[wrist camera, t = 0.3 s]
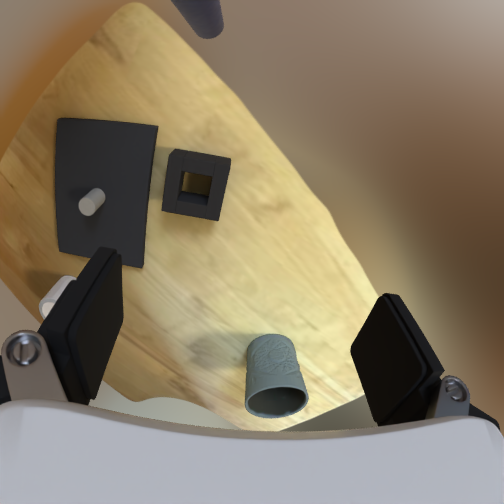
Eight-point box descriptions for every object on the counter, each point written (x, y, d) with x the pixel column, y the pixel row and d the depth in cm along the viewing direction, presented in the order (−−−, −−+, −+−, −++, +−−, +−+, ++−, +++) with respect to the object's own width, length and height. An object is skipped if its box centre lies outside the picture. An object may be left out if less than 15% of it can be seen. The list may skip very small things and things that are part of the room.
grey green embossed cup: (266, 372, 57) (271, 423, 46) (230, 349, 53) (230, 405, 42) (308, 347, 54) (320, 401, 43) (274, 320, 49) (283, 379, 39)
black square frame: (174, 148, 34) (169, 154, 31) (231, 158, 36) (230, 165, 33) (167, 200, 38) (161, 211, 35) (219, 210, 39) (218, 221, 36)
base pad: (61, 117, 31) (43, 123, 27) (158, 126, 33) (148, 131, 29) (62, 247, 40) (49, 264, 36) (143, 264, 43) (135, 283, 39)
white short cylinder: (96, 301, 46) (82, 330, 40) (68, 306, 46) (53, 333, 40) (77, 268, 42) (60, 295, 36) (49, 276, 43) (31, 301, 37)
